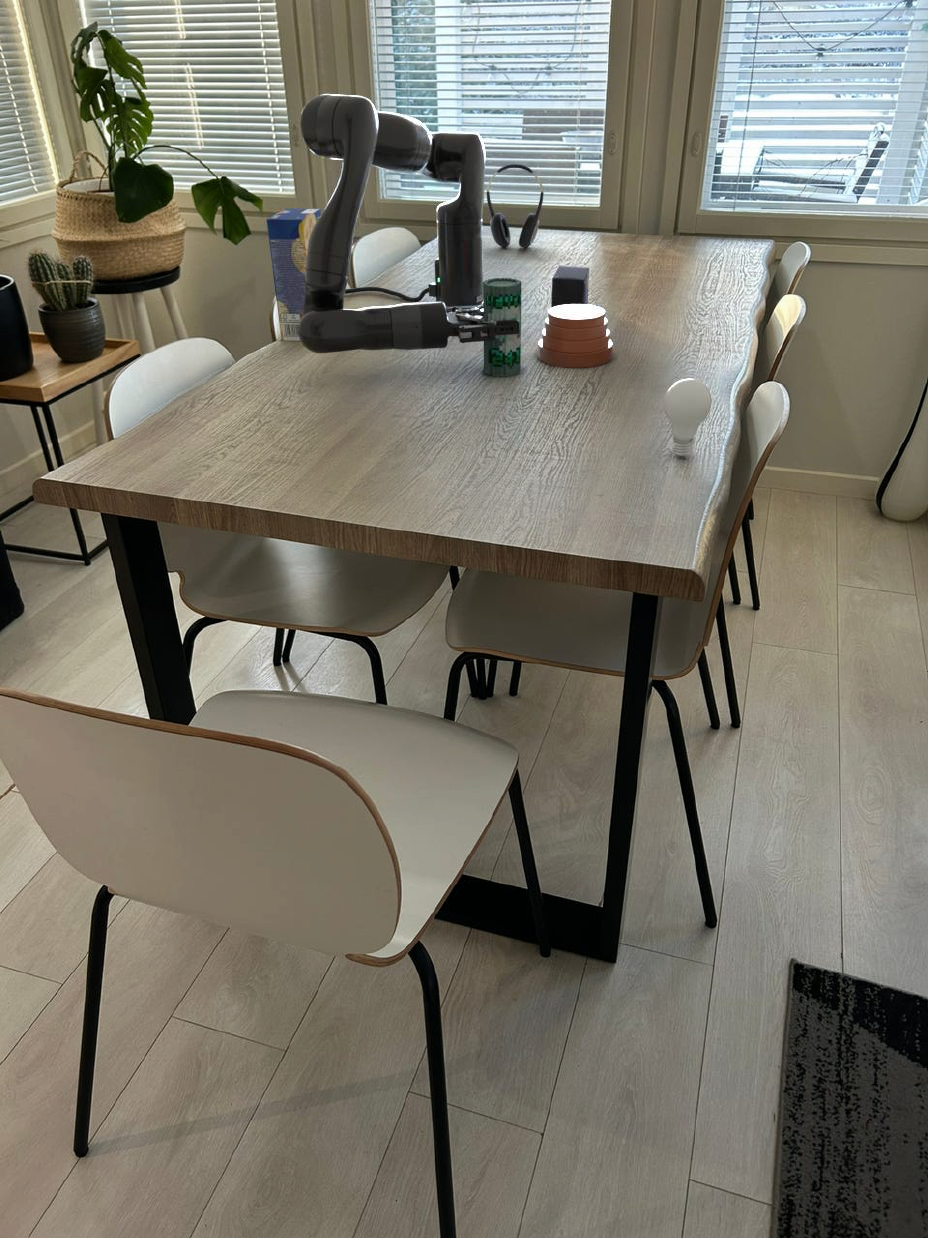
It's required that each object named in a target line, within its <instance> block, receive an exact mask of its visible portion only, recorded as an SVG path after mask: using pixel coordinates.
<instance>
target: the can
mask: <svg viewBox="0 0 928 1238" xmlns="http://www.w3.org/2000/svg"><path fill="white" fill-rule="evenodd" d="M483 317H484V318H485V320H495V321H501V320H518V321H519V323H520V331H519V333H518V334H509V335H497V337H495V340H493V341H483V372H484V373H485V374H487V375H489V376H493V377H501V378H502V377H510V376H515V375H517V374H520V372H521V371H522V367H521V366H522V365H521V363H522V362H521V360H522V359H521V358H522V357H521V356H522V355H521V354H522V350H521V349H522V280H519V279H517V278H512V277H493V278H488V279H485V280H483ZM485 331H486V332H488V330H487V329H485Z"/></svg>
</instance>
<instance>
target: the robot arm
mask: <svg viewBox="0 0 928 1238" xmlns="http://www.w3.org/2000/svg"><path fill="white" fill-rule="evenodd" d="M299 128H300V129H299V130H300V133H301V137H302V139H303V141H304V143H305V145H306V146H307V148H308V149H309V150H310V151H311V152H312V153H313V154H314V155H316V156H318V157H320V158H323V159H329V160H330V159H331V160H339V161H340V160H341V161H342V168H341V173H340V177H339V180H338V183H337V186H336V187H335V190H334V192H333V193H332V196H331V198H330V199H329V201H328V202H327V204H326V206H325V208H324V209H323V210H322V212H321V215H320V217H319V218H318V220H317V222H316V223H315V225H314V227H313V230H312V232H311V235H310V239H309V243H308V251H307V260H306V270H305V287H306V292H305V299H304V306H303V313H302V319H301V320H300V323H299V326H298V335H299V339H300V341H299V342H300V343H301V344H302V346H303V347H304V348H305V349H306V350H307V351H309V352H311V353H313V354H320V355H321V354H322V355H323V354H331V353H342V352H352V351H358V350H359V351H361V350H363V351H385V350H386V351H388V350H400V351H416V350H433V349H445V348H447V347H448V344H449V337H453V338H458V339H459V343H461V344H466V343H467V344H468V343H479V342H484V341H493V340H495V337H497V335H509V334H518V333H519V331H520V323H519V321H518V320H501V321H495V320H485V318H484V317H483V282H484V251H483V250H484V249H483V248H484V247H483V244H484V242H483V211H484V202H485V177H486V175H485V174H486V149H485V148H486V147H485V144H484V140H483V138H482V136H480V134H479V133H477V132H476V133H475V132H468V131H467V132H466V131H465V132H464V131H439V132H438V131H435V132H434V131H433V132H432V131H429V129H428V128H427V126H426V125H425V124H424V123H422V122H421V121H420V120H418V119H416V118H414V117H410V116H407V115H404V114H401V113H395V112H389V111H377V110H376V108H375V105H374V104H373V103H372V101H371V100H370V99H369V98H367V97H365V96H362V95H352V94H351V95H348V94H334V93H333V94H330V93H323V94H318V95H316V96H314V97H312V98H311V99H310V100H308V102H306V104H305V105H304V106H303V108H302V111H301V114H300V118H299ZM372 166H373V167H377V168H380V169H383V170H386V171H389V172H394V173H398V174H403V175H416V174H419V175H421V176H424V177H426V178H428V179H430V180H432V181H434V182H437V183H440V184H449V185H450V184H451V185H459V192H458V195H457V196H456V197H455V198H453V199H451V200H449V201H445V202H443V203H440V204H439V205H438V206H437V207H436V234H437V258H436V259H434V281H433V282H430V283H428V287H426V288H424V289H423V290H422V291H421V292H420V293H419V295H418V296H415V297H411V296H409V295H407V294H404V293H403V292H399V291H396V290H393V289H389V288H385V287H381V286H361V287H360V286H359V287H352V288H347V285H348V280H349V273H350V263H351V257H352V256H351V255H352V247H353V241H354V235H355V230H356V225H357V222H358V218H359V213H360V209H361V206H362V203H363V201H364V200H363V199H364V196H365V192H366V188H367V185H368V181H369V176H370V173H371V169H372ZM363 292H378V293H384V294H387V295H390V296H393V297H398V298H400V299H402V300H405V301H407V303H399V304H395V305H384V306H383V305H381V306H368V307H367V306H366V307H361V308H358V309H357V308H356V309H355V308H354V309H352V308H344V305H345V295H346V294H354V293H363ZM427 294H428V297H431V298H432V297H433V298H435V301H429V302H425V301H424V302H420V301H422V300H423V299H424V297H425V296H426V295H427ZM408 302H409V303H408ZM485 329H487V330H488V332H486V331H485Z"/></svg>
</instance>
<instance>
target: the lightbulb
mask: <svg viewBox="0 0 928 1238" xmlns="http://www.w3.org/2000/svg"><path fill="white" fill-rule="evenodd" d="M663 398H664V399H663V409H664V413H665V415H666V417H667V419H668V421H669V423H670V424H671V431H672V435H673V443H672V444H673V445H672V453H673V454H674V455H675V456H677V457H678V458H686V457H689V456H691V455H692V454H693V446H694V440H695V436H696V435H697V434H698V433H697V432H698V429H699V427H700V426H701V424H702V423H703V421H705V420H706V418H707V417H708V415H709V413H710V411H711V408H712V405H713V404H712V403H713V400H712V395H711V392H710V389H709V388H708V386H706V384H705V383H703V382H702V381H700V380H698V379H695V378H683V379H680V380H678V381H676V382H674V383H672V385H671V386H670V387H668V389H667V390H666V393H665V394H664V397H663Z"/></svg>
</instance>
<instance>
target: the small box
mask: <svg viewBox="0 0 928 1238" xmlns="http://www.w3.org/2000/svg"><path fill="white" fill-rule="evenodd" d="M589 283H590V267H583V266H581V267H580V266H565V265H559V266H558V267H557V268H556V271H555V272H554V274H553V276H552V278H551V297H550V309H551V308H553V307H556V306H560V305H567V304H586V305H589V304H588V303H589V302H588V301H589Z"/></svg>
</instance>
